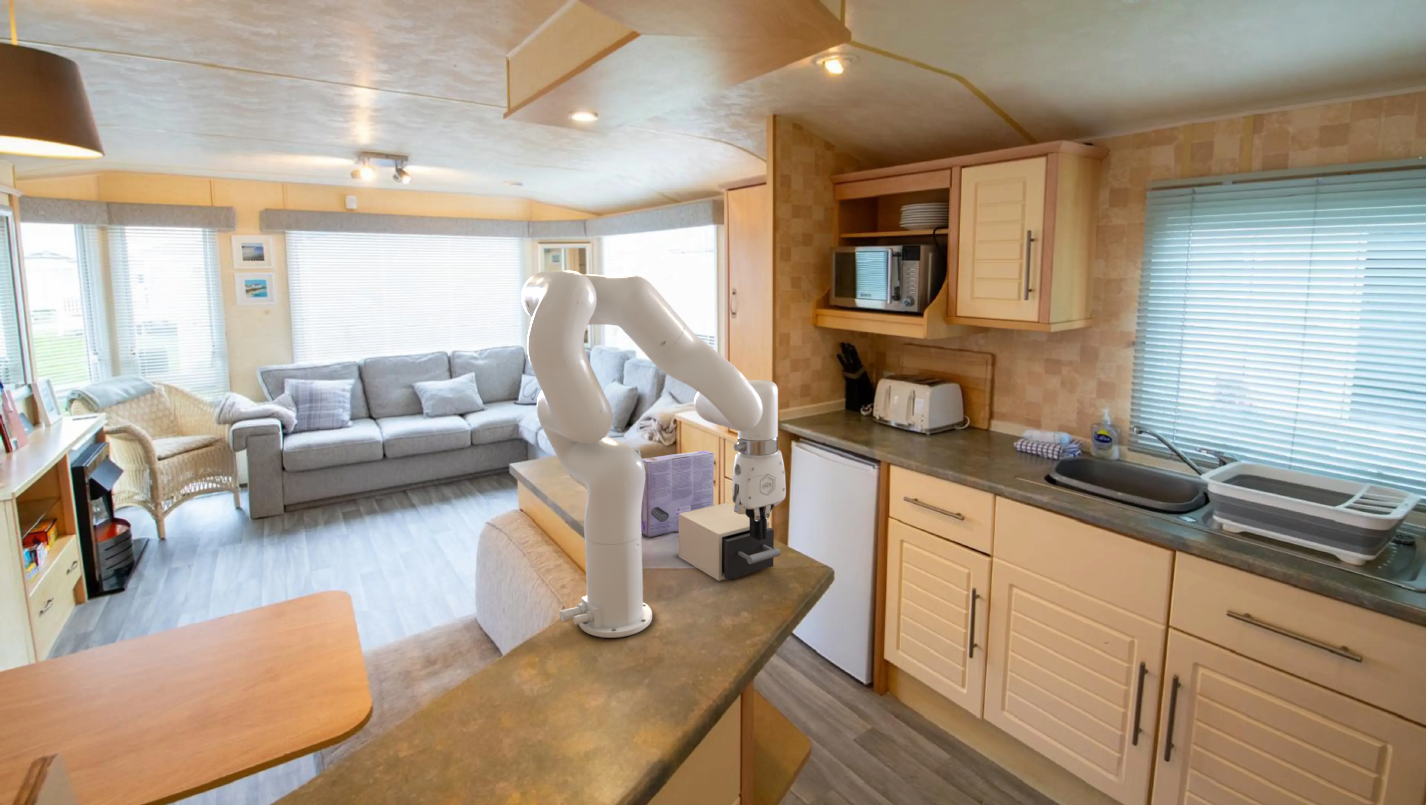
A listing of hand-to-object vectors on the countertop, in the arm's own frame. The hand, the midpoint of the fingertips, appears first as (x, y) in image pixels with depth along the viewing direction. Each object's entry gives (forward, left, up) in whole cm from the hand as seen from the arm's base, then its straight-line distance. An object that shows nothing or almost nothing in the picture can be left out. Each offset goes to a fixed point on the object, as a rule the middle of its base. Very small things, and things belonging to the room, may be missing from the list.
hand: (758, 537), depth 135 cm
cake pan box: (+3, +33, -9) cm, 34 cm away
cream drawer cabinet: (0, +11, -9) cm, 14 cm away
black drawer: (0, +6, -8) cm, 10 cm away
